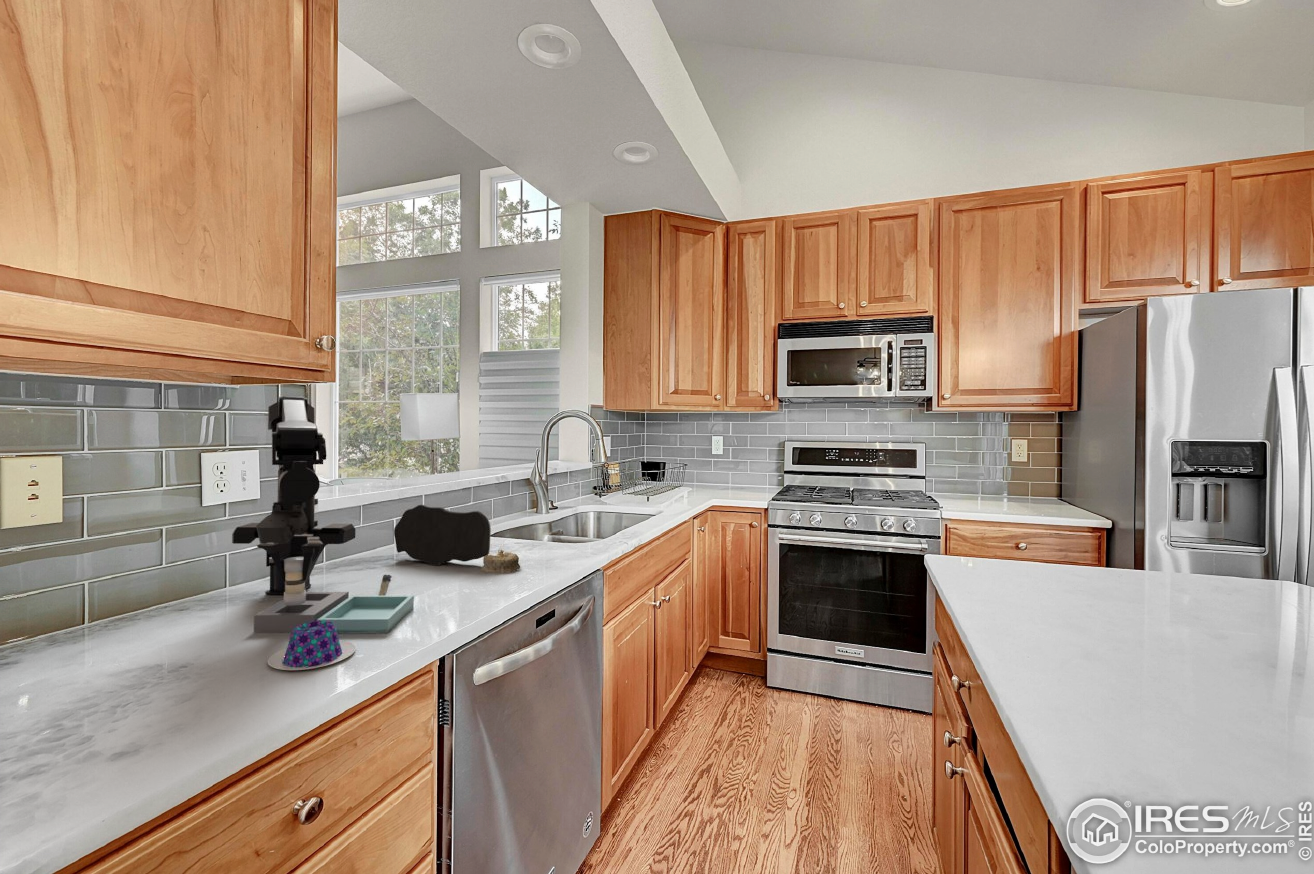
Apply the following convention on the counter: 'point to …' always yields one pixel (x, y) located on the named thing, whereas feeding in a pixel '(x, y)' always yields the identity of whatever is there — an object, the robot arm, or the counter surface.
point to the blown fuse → (294, 581)
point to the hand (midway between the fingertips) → (295, 580)
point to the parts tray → (369, 613)
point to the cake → (501, 562)
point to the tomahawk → (384, 584)
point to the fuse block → (297, 612)
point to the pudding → (312, 647)
